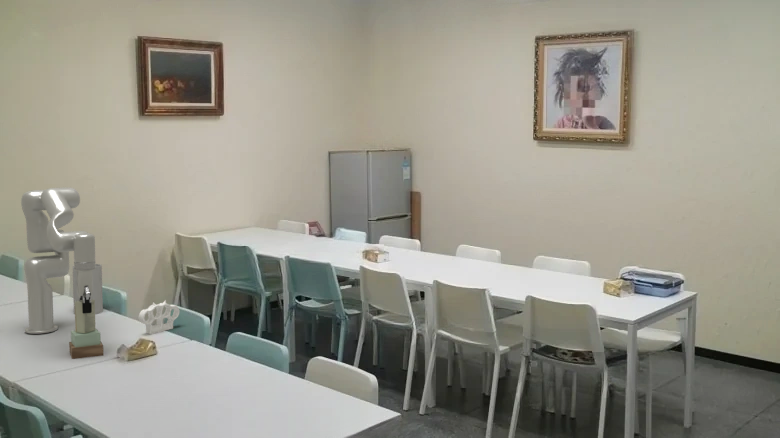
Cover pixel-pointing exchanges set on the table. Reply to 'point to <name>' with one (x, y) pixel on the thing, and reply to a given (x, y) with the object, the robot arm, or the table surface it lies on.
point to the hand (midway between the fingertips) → (85, 310)
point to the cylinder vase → (95, 291)
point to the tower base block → (85, 351)
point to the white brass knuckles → (159, 317)
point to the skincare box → (84, 318)
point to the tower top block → (85, 338)
